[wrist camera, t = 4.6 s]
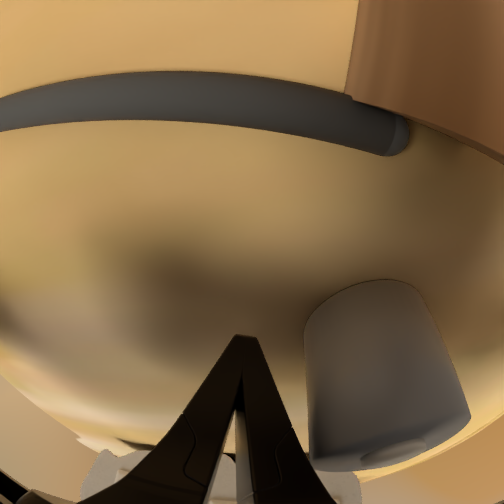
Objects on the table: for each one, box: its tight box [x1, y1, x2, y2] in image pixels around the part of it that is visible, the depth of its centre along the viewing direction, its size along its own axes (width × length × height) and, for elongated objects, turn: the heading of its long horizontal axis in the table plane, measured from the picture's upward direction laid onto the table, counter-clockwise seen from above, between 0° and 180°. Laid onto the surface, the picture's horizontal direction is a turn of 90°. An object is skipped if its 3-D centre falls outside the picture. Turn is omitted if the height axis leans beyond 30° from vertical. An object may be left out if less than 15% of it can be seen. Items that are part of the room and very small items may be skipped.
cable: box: [0, 71, 409, 156], centre depth 5 cm, size 13×1×1 cm, turn 82°
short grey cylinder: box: [303, 280, 471, 472], centre depth 8 cm, size 5×5×5 cm
